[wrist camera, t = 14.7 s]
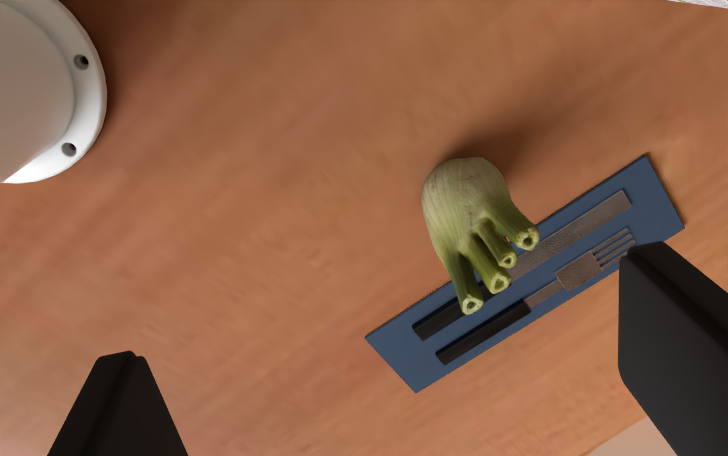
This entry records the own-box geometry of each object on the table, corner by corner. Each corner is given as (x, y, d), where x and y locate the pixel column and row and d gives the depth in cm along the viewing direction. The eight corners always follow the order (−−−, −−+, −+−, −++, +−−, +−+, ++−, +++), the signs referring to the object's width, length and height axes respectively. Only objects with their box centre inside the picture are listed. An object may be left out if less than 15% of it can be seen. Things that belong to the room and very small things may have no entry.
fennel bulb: (430, 232, 41) (470, 331, 30) (398, 176, 39) (429, 261, 28) (504, 194, 40) (572, 281, 30) (475, 135, 38) (537, 205, 28)
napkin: (415, 391, 47) (415, 393, 47) (364, 336, 45) (364, 339, 44) (682, 226, 43) (685, 228, 42) (644, 154, 40) (646, 155, 40)
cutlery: (446, 365, 46) (447, 371, 45) (410, 324, 44) (411, 329, 44) (650, 239, 43) (655, 244, 42) (620, 188, 41) (625, 192, 40)
